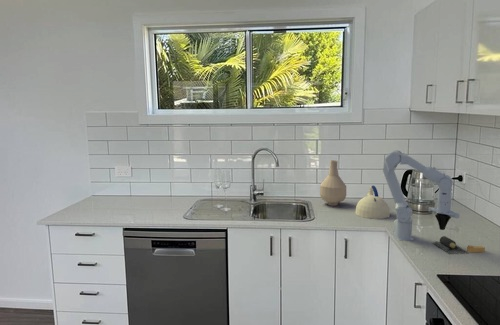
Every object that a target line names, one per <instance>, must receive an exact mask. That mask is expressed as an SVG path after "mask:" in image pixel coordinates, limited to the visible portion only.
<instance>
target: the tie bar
mask: <svg viewBox="0 0 500 325" xmlns="http://www.w3.org/2000/svg"><path fill="white" fill-rule="evenodd" d="M485 249H486V248H485V246H482V245H477V246H475V245H474V246H473V245H472V244H471V245H470V244H469V245H467V246H466V252H468V253H485Z"/></svg>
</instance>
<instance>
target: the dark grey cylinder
mask: <svg viewBox="0 0 500 325" xmlns="http://www.w3.org/2000/svg"><path fill="white" fill-rule="evenodd" d="M439 242H440V243H441V244H443V245H444V246H446V247H448V248H449V250H455V249H456V248H455V247H456V245H457V243H456V241H454V240H453V239H451V238H449V237H447V236H446V235H443V236H440V238H439ZM454 248H455V249H454Z"/></svg>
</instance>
